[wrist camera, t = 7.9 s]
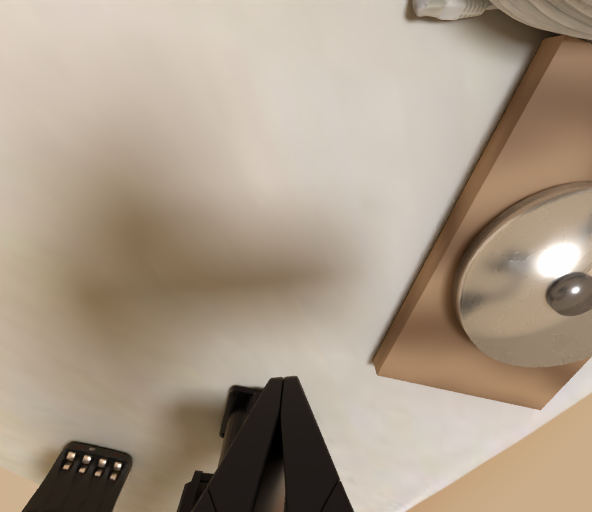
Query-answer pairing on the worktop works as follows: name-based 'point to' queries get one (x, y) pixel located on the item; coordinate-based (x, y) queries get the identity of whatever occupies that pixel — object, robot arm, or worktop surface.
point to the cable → (519, 13)
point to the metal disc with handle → (531, 281)
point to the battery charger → (82, 481)
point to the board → (483, 210)
